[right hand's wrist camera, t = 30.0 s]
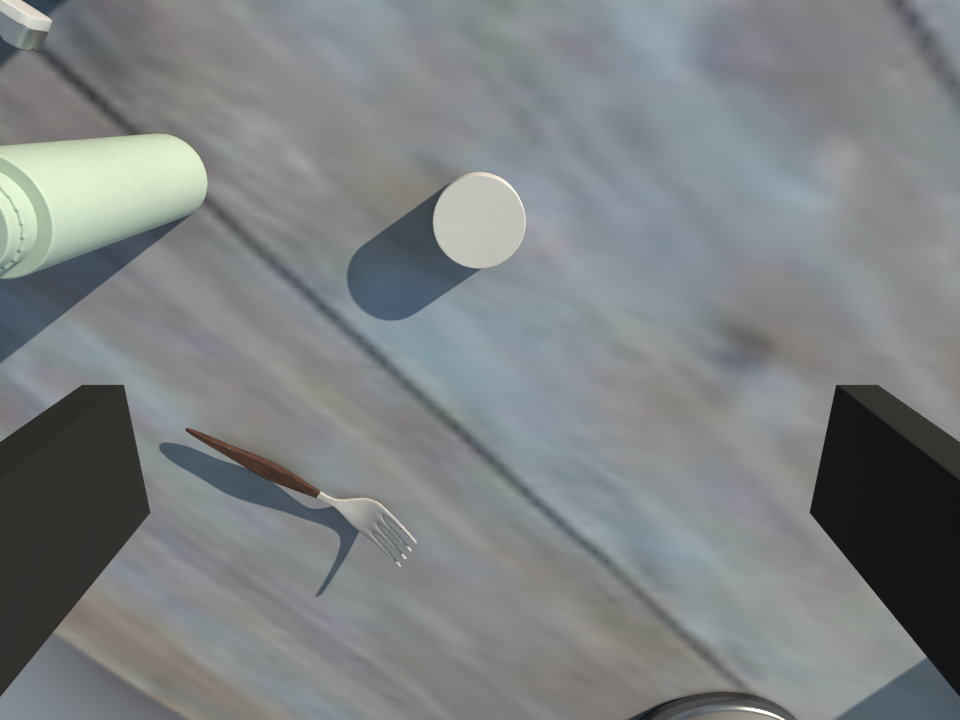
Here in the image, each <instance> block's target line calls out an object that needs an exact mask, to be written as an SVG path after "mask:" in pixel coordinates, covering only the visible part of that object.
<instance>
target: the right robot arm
mask: <svg viewBox="0 0 960 720" xmlns="http://www.w3.org/2000/svg"><path fill="white" fill-rule="evenodd" d="M149 514H150V509H149V504H148V499H147V494H146V490H145V485H144V480H143V475H142V470H141V466H140V461H139V456H138V451H137V446H136V441H135V437H134V432H133V427H132V422H131V417H130V413H129V408H128V403H127V398H126V393H125V389H124V385H81V386H80V387H79V388H77V389H76V390H74V391H73V392H71V393H70V394H69V395H67V396H66V397H64V398H63V399H61V400H60V401H59V402H57V403H56V404H54V405H53V406H51V407H50V408H48V409H47V410H46V411H44V412H43V413H41V414H40V415H38V416H37V417H36V418H34V419H33V420H31V421H30V422H28V423H27V424H25V425H24V426H23V427H21V428H20V429H18V430H17V431H15V432H14V433H13V434H11V435H10V436H8V437H7V438H5V439H4V440H3V441H1V442H0V696H1V695H2V694H3V693H4V691H5V690H6V689H7V688H8V687H9V685H10V684H11V683H12V682H13V680H14V679H15V678H16V677H17V676H18V674H19V673H20V672H21V671H22V669H23V668H24V667H25V666H26V665H27V663H28V662H29V661H30V660H31V658H32V657H33V656H34V655H35V653H36V652H37V651H38V650H39V648H40V647H41V646H42V645H43V644H44V642H45V641H46V640H47V639H48V638H49V636H50V635H51V634H52V633H53V631H54V630H55V629H56V628H57V626H58V625H59V624H60V623H61V622H62V620H63V619H64V618H65V617H66V615H67V614H68V613H69V612H70V611H71V609H72V608H73V607H74V606H75V604H76V603H77V602H78V601H79V599H80V598H81V597H82V596H83V595H84V593H85V592H86V591H87V590H88V588H89V587H90V586H91V585H92V584H93V582H94V581H95V580H96V579H97V577H98V576H99V575H100V574H101V572H102V571H103V570H104V569H105V568H106V566H107V565H108V564H109V563H110V561H111V560H112V559H113V558H114V557H115V555H116V554H117V553H118V552H119V550H120V549H121V548H122V547H123V545H124V544H125V543H126V542H127V541H128V539H129V538H130V537H131V536H132V534H133V533H134V532H135V531H136V530H137V528H138V527H139V526H140V525H141V523H142V522H143V521H144V520H145V518H146V517H147V516H148V515H149ZM810 514H811V515H812V516H813V517H814V518H815V520H816V521H817V522H818V523H819V525H820V526H821V527H822V528H823V530H824V531H825V532H826V533H827V534H828V536H829V537H830V538H831V539H832V541H833V542H834V543H835V544H836V545H837V547H838V548H839V549H840V550H841V552H842V553H843V554H844V555H845V557H846V558H847V559H848V560H849V561H850V563H851V564H852V565H853V566H854V568H855V569H856V570H857V571H858V572H859V574H860V575H861V576H862V577H863V579H864V580H865V581H866V582H867V584H868V585H869V586H870V587H871V588H872V590H873V591H874V592H875V593H876V595H877V596H878V597H879V598H880V599H881V601H882V602H883V603H884V604H885V606H886V607H887V608H888V609H889V611H890V612H891V613H892V614H893V615H894V617H895V618H896V619H897V620H898V622H899V623H900V624H901V625H902V626H903V628H904V629H905V630H906V631H907V633H908V634H909V635H910V636H911V638H912V639H913V640H914V641H915V642H916V644H917V645H918V646H919V647H920V649H921V650H922V651H923V652H924V653H925V655H926V656H927V657H928V658H929V660H930V661H931V662H932V663H933V665H934V666H935V667H936V668H937V669H938V671H939V672H940V673H941V674H942V676H943V677H944V678H945V679H946V680H947V682H948V683H949V684H950V685H951V687H952V688H953V689H954V690H955V692H956V693H957V694H958V695H959V696H960V442H959V441H957V440H956V439H955V438H953V437H952V436H950V435H949V434H947V433H946V432H945V431H943V430H942V429H940V428H939V427H937V426H936V425H935V424H933V423H932V422H930V421H929V420H927V419H926V418H924V417H923V416H922V415H920V414H919V413H917V412H916V411H914V410H913V409H912V408H910V407H909V406H907V405H906V404H904V403H903V402H901V401H900V400H899V399H897V398H896V397H894V396H893V395H891V394H890V393H889V392H887V391H886V390H884V389H883V388H881V387H880V386H879V385H836V389H835V393H834V398H833V403H832V408H831V413H830V417H829V422H828V427H827V432H826V437H825V441H824V446H823V451H822V456H821V461H820V466H819V470H818V475H817V480H816V485H815V490H814V494H813V499H812V504H811V509H810ZM642 720H796V719H795V717H794V716H793V715H791V714H790V713H789V712H788V711H787V710H785V709H784V708H782V707H781V706H779V705H777V704H775V703H773V702H771V701H769V700H766V699H764V698H761V697H757V696H754V695H749V694H744V693H736V692H713V693H704V694H698V695H693V696H689V697H685V698H682V699H679V700H676V701H673V702H671V703H668V704H666V705H664V706H662V707H660V708H658V709H656V710H655V711H653V712H651V713H650V714H649V715H647V716H646V717H644V718H643V719H642Z"/></svg>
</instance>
